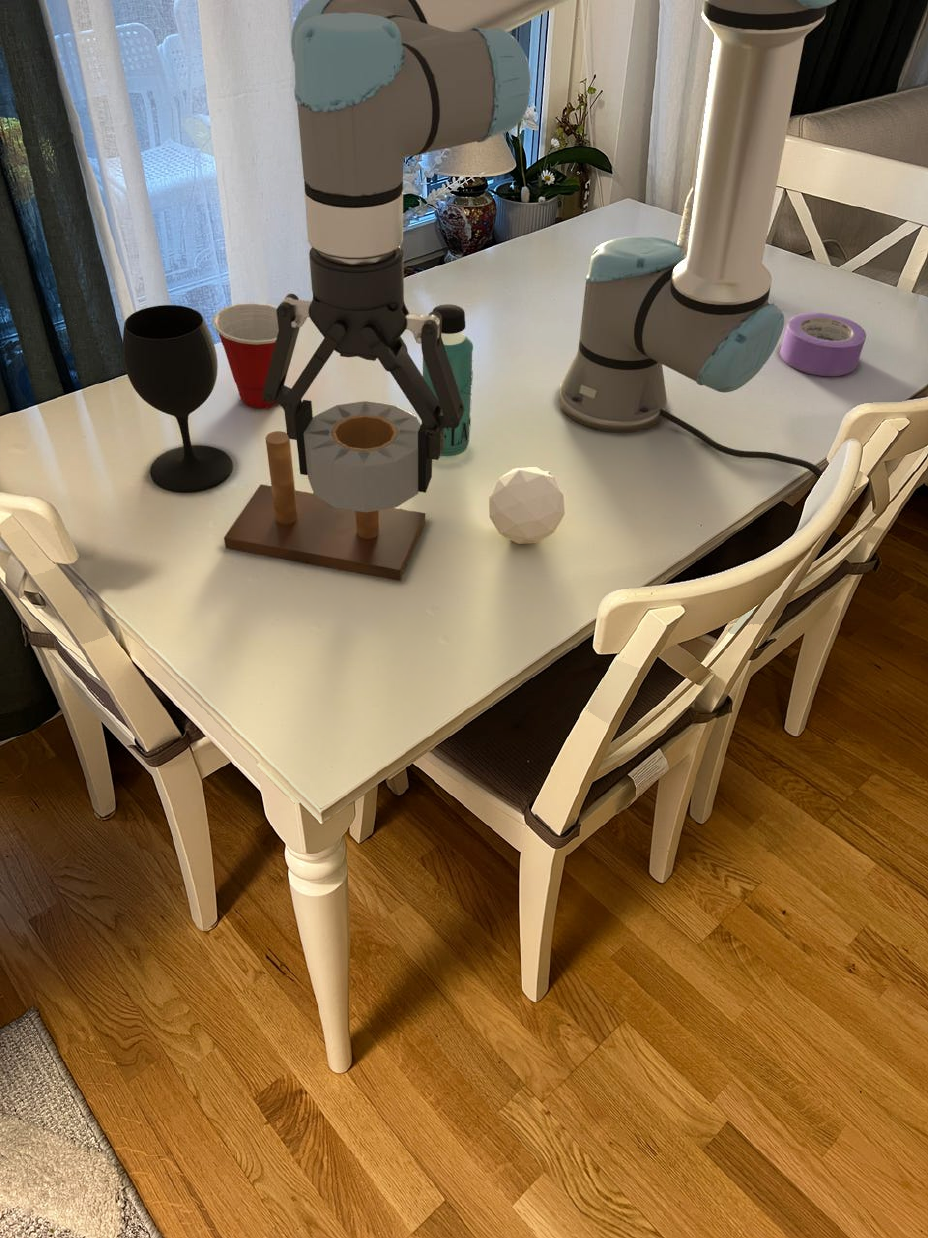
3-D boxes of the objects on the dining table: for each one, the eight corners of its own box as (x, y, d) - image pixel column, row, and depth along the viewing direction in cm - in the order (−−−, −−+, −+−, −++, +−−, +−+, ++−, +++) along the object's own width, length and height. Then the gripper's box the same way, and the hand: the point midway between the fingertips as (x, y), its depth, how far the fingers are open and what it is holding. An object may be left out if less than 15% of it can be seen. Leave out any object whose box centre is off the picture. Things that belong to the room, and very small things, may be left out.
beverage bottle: (433, 471, 122) (436, 326, 108) (411, 445, 126) (411, 302, 112) (478, 460, 124) (486, 316, 110) (455, 435, 128) (460, 293, 114)
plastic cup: (287, 423, 129) (279, 342, 120) (212, 412, 130) (199, 331, 122) (312, 385, 136) (306, 306, 128) (241, 375, 138) (231, 296, 129)
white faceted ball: (560, 557, 107) (581, 509, 116) (546, 484, 102) (570, 440, 112) (488, 560, 110) (515, 513, 119) (472, 489, 106) (501, 446, 115)
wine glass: (156, 447, 123) (124, 301, 109) (237, 446, 124) (215, 301, 110) (143, 494, 116) (107, 343, 102) (229, 492, 116) (205, 343, 103)
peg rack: (425, 523, 114) (426, 433, 105) (400, 580, 106) (399, 488, 97) (262, 494, 117) (250, 404, 108) (225, 548, 109) (209, 456, 100)
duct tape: (433, 454, 93) (434, 410, 90) (407, 519, 86) (407, 473, 82) (329, 439, 95) (325, 395, 91) (294, 501, 87) (289, 456, 83)
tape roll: (774, 366, 146) (783, 336, 143) (785, 335, 154) (793, 306, 151) (852, 383, 143) (863, 353, 140) (859, 350, 151) (869, 321, 148)
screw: (692, 264, 174) (665, 261, 174) (691, 254, 177) (666, 251, 177) (707, 191, 165) (679, 188, 165) (706, 182, 168) (679, 179, 169)
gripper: (507, 244, 76) (492, 470, 91) (234, 212, 79) (263, 437, 94) (491, 282, 71) (478, 516, 86) (199, 247, 73) (236, 480, 89)
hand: (366, 475), depth 90 cm, fingers closed on duct tape, 11 cm apart
